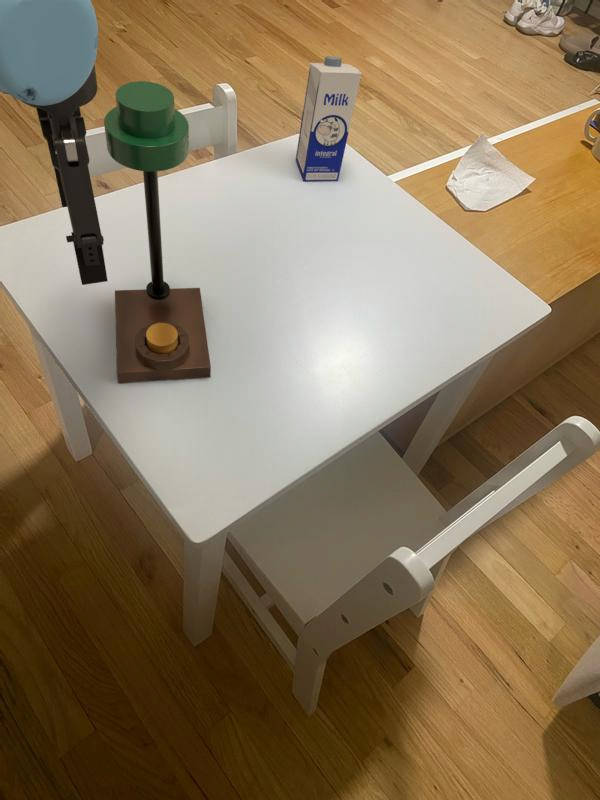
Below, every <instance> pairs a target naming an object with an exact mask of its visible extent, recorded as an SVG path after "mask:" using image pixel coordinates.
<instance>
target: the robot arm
mask: <svg viewBox="0 0 600 800" xmlns="http://www.w3.org/2000/svg"><path fill="white" fill-rule="evenodd" d="M98 45H99V24H98V20H97V14H96V10H95V7H94V4H93V3H92V0H0V93H1V94H4V95H9V96H11V97H13V98H14V99H16V100H17V101H20V102H22V103H23V104H24V105H27V106H29V107H32V108H34V109H36V113H37V119H38V122H39V124H40V130H41V134H42V137H43V139H44V140H45V141H46V143H47V147H48V152H49V157H50V160H51V165H52V167H53V169H54V175H55V179H56V183H57V189H58V194H59V199H60V203H61V206H62V208H67V210H68V216H69V220H70V224H71V229H72V230H71V231H72V232H71V233H70V234H71V235H66V236H65V238H66V243H73V248H74V254H75V258H76V262H77V267H78V268H77V269H78V273H79V278H80V282H81V286H85V285H92V284H100V283H106V282H108V275H107V267H106V262H105V256H104V249H103V246H104V241H105V240H104V236H103V234H102V231H101V226H100V225H101V224H100V220H99V216H98V210H97V204H96V200H95V195H94V189H93V184H92V179H91V174H90V169H89V164H90V156H89V155H90V154H89V151H88V145H87V141H86V136H87V127H86V124H85V119H84V116H82V113H81V107H83V106H86V105H87V104H89V103H90V102H92V100H94V98H95V97H96V95H97V92H98V80H97V79H98V78H97V71H96V64H95V63H96V59H97V55H98Z"/></svg>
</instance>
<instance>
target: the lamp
mask: <svg viewBox="0 0 600 800" xmlns="http://www.w3.org/2000/svg"><path fill="white" fill-rule="evenodd" d="M115 103H116V106H115V107H113V108H112V109H110V110H109V111H108V112H106V114H105V117H104V120H103V126H104V133H105V143H106V149H107V152H108V155H109V156H110V157H111V159H113V160H114V161H115V162H116V163H118V164H119V165H121V166H123V167H125V168H128V169H131V170H133V171H140V172H142V175H143V187H144V199H145V214H146V225H147V226H146V227H147V238H148V239H147V240H148V241H147V242H148V253H149V263H150V264H149V265H150V266H149V267H150V277H151V281H150V282H148V283H147V285H146V286H145V287H146V291H147V295H148V296H149V297H150V298H152V299H154V300H163V299H165V298H167V297H168V296H169V294H170V289H171V287H170V285H169V284H168V282H166V281H164V280H165V279H164V262H163V244H162V228H161V227H162V225H161V208H160V195H159V194H160V193H159V192H160V191H159V177H158V176H159V174H158V172H163V171H168V170H171V169H174V168H176V167H178V166H180V165H182V164H183V163H184V162H185V161H186V159H187V158H188V156H189V153H190V124H189V121H188V119H187V118H186V117H185V115H184V114H183V113H181V112H180V111H179V110H177V109H176V108H175V95H174V93H173V92H172V91H171V90H170V89H169V88H168V87H166V86H164V85H162V84H159V83H157V82H153V81H147V80H146V81H145V80H142V81H141V80H139V81H130V82H127V83H124V84H123V85H121V86H119V87H118V88H117V89H116V91H115Z"/></svg>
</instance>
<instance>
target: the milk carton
mask: <svg viewBox="0 0 600 800" xmlns="http://www.w3.org/2000/svg"><path fill="white" fill-rule="evenodd" d="M342 60H343V58H342V57H339V56H333V55H332V56H330V55H329V56H325V57H324V61H323V62H308V63H309V68H308V75H307V82H306V88H305V94H304V101H303V102H304V103H303V108H302V114H301V122H300V129H299V135H298V142H297V147H296V156H295V162H296V165H297V167H298V168H297V169H298V171H299V173H300V175H301V179H302V181H303V182H338V181H339V177H340V172H341V169H342V164H343V159H344V155H345V151H346V146H347V141H348V138H349V132H350V129H351V123H352V119H353V114H354V109H355V106H356V101H357V95H358V91H359V88H360V83H361V78H362V75H363V73H362V72H361V71H360V69H358V68H356V67H354V66H353V65H351V64H349V63H342Z"/></svg>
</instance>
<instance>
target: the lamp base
mask: <svg viewBox="0 0 600 800" xmlns="http://www.w3.org/2000/svg"><path fill="white" fill-rule="evenodd" d="M114 303H115V304H114V307H115V308H114V310H115V311H114V312H115V313H114V314H115V347H116V350H115V351H116V352H115V353H116V375H117V381H118V384H126V383H139V382H141V383H144V382H156V381H174V380H186V379H187V380H191V379H202V378H203V379H204V378H205V379H206V378H211V370H212V369H211V368H212V366H211V359H210V352H209V351H210V350H209V345H208V338H207V337H208V336H207V330H206V322H205V314H204V309H203V308H204V307H203V300H202V294H201V287H182V288H181V287H179V288H177V287H176V288H175V287H174V288H170V294H169V296H168V297H167V298H165V299H163V300H154V299H152V298H150V297H149V296H148V295H147V291H146V289H145V288H143V289H117V290H116V289H115V290H114ZM157 323H167V324H170V325H172V326H173V327H175V329H176V330H177V333H178V345H177V348H176V349H175V350H174V351H173V352H171V353H168V354H156V353H154V352H152V351H151V350H150V349H149V348H148V346H147V339H146V332H147V330H148V328H149V327H150V326H152V325H154V324H157Z"/></svg>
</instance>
